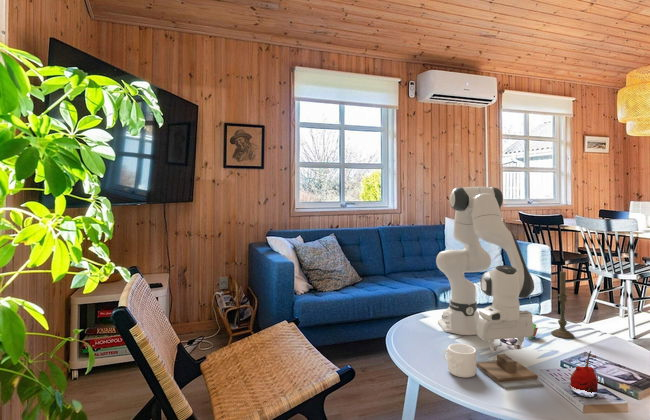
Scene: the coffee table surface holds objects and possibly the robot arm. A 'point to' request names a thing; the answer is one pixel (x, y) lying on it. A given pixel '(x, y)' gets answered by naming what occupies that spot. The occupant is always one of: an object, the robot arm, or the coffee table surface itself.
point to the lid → (506, 369)
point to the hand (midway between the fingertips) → (505, 349)
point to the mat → (515, 383)
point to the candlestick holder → (562, 311)
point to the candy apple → (585, 378)
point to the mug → (461, 360)
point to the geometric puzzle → (534, 331)
